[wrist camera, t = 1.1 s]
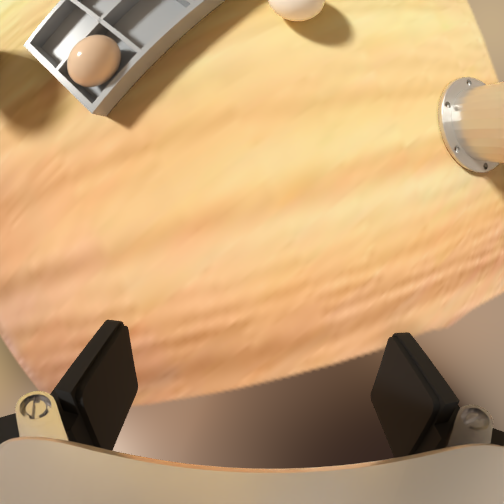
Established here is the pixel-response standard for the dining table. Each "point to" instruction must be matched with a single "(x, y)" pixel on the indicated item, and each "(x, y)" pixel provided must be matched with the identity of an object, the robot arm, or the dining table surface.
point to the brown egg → (94, 60)
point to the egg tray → (121, 31)
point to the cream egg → (297, 8)
